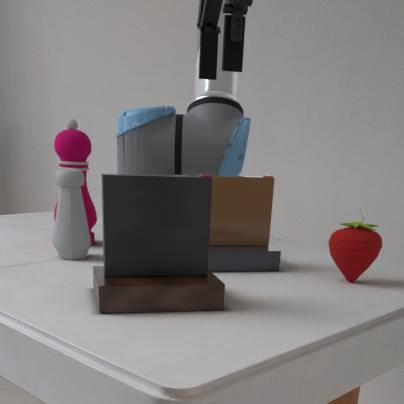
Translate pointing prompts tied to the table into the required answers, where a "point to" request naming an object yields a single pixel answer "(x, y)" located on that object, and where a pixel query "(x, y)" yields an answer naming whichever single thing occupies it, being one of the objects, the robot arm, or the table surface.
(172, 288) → the walnut stand
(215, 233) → the tan flat block
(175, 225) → the dark grey flat slab
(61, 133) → the pepper mill
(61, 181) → the salt shaker
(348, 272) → the strawberry
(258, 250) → the slate stand
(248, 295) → the table surface
